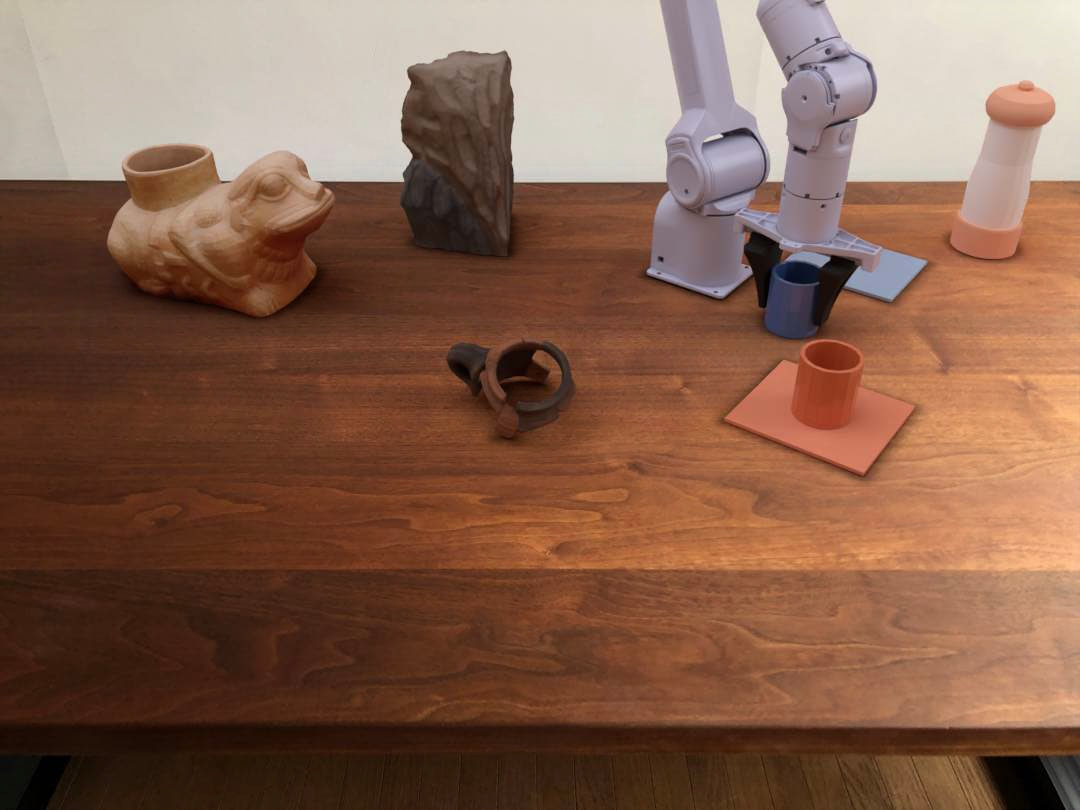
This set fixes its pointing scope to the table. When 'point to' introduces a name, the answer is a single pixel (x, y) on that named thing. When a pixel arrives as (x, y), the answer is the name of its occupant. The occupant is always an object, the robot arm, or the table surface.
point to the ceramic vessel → (218, 228)
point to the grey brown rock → (460, 152)
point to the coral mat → (841, 447)
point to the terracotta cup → (827, 384)
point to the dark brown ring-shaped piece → (505, 363)
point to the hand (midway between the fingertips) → (792, 313)
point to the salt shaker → (1002, 172)
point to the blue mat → (876, 273)
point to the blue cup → (792, 299)
